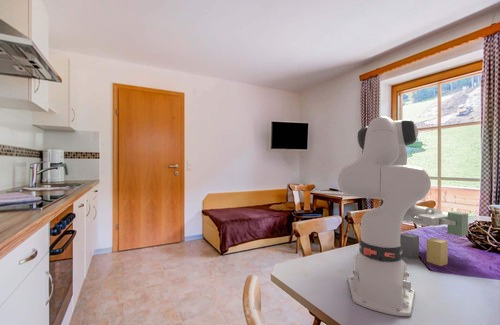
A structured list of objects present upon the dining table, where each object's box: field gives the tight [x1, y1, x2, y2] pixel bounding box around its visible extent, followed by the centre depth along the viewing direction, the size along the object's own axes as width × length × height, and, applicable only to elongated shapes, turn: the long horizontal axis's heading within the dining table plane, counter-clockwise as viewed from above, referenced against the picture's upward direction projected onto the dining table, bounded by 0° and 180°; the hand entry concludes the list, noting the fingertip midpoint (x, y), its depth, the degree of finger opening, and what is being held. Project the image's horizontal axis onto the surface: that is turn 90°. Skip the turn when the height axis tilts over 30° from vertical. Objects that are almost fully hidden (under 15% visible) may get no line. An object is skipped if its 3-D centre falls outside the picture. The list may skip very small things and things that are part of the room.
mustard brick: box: [426, 237, 449, 267], centre depth 96 cm, size 5×5×9 cm
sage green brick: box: [446, 211, 469, 237], centre depth 102 cm, size 5×5×9 cm
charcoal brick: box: [400, 232, 420, 260], centre depth 103 cm, size 5×5×9 cm
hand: (460, 222), depth 101 cm, fingers closed on sage green brick, 5 cm apart
